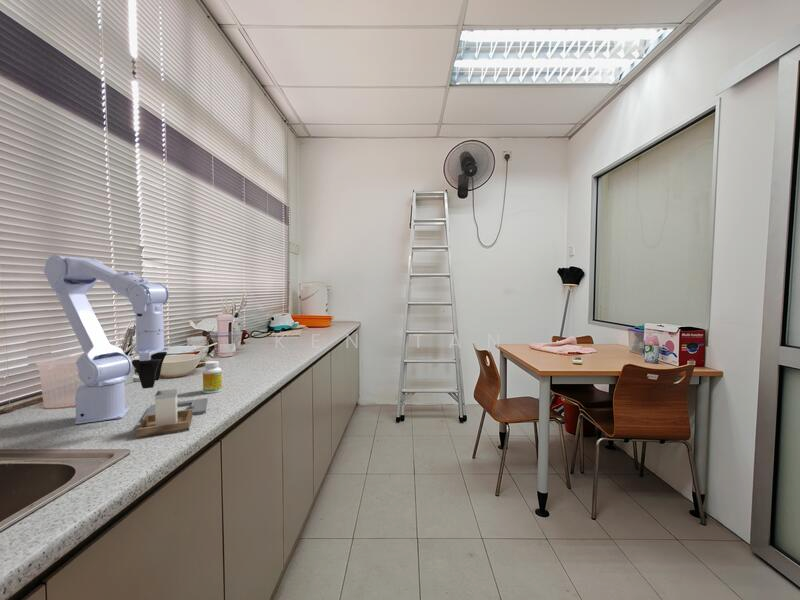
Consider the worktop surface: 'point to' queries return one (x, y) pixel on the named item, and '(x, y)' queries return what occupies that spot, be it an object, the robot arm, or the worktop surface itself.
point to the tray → (151, 429)
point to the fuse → (166, 407)
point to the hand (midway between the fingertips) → (151, 384)
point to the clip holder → (196, 405)
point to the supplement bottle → (212, 377)
